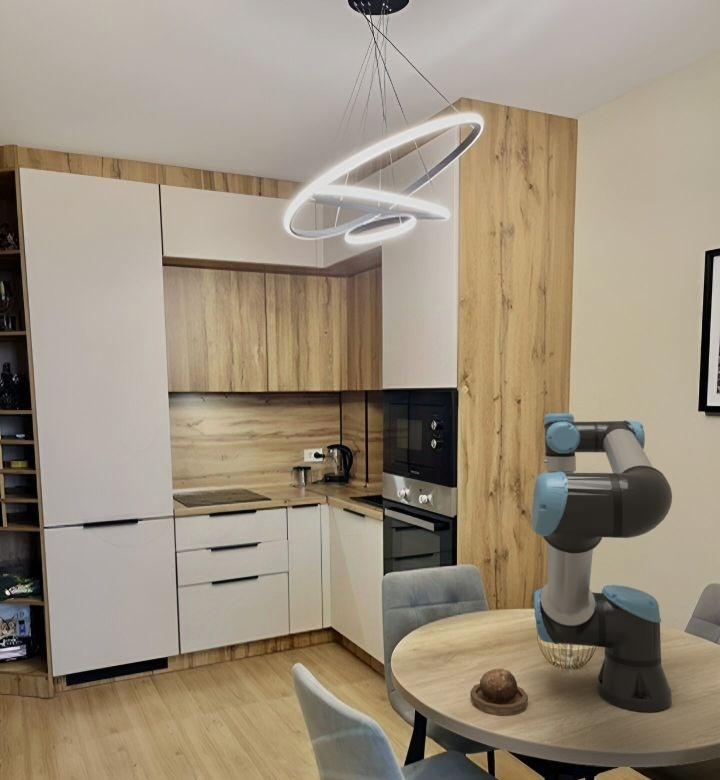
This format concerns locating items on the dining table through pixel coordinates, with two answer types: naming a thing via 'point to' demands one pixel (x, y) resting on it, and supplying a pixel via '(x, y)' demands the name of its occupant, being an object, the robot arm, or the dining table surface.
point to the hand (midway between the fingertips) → (562, 554)
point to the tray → (501, 709)
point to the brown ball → (498, 686)
